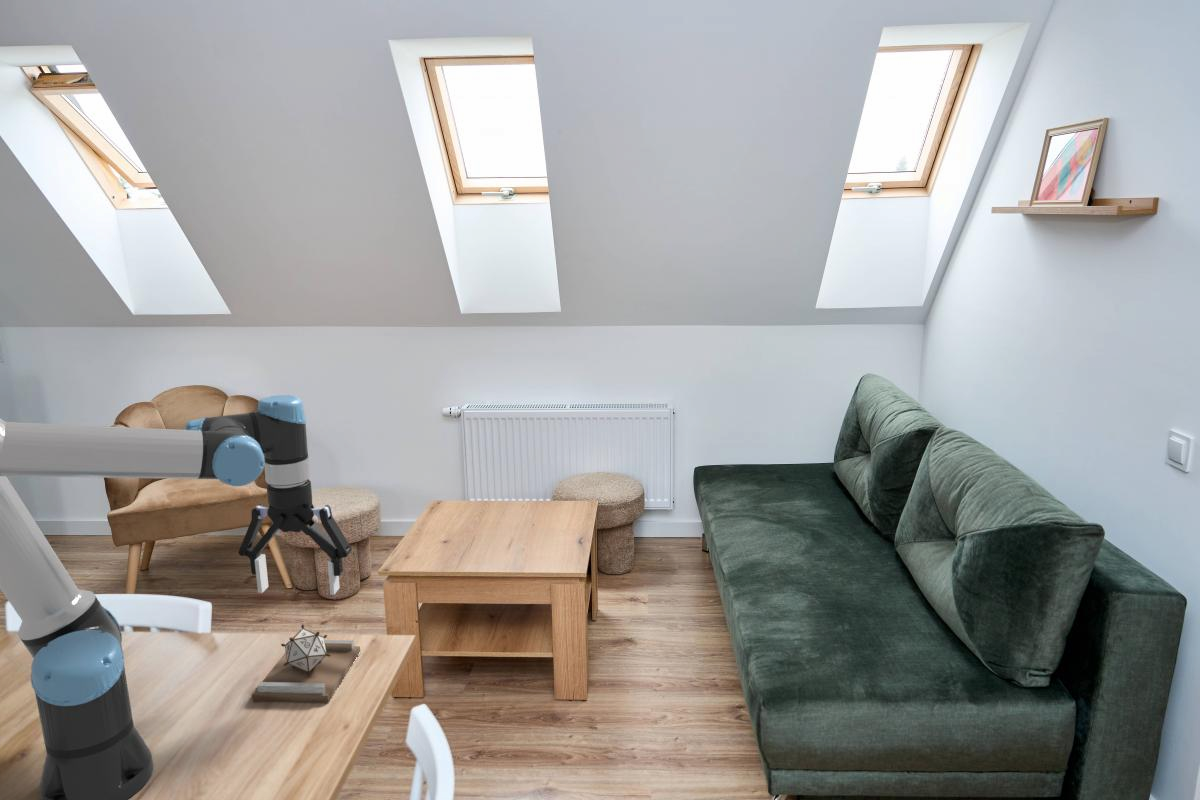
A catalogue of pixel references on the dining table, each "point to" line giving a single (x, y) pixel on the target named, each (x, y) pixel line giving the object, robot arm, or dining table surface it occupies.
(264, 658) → the dining table surface
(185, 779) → the dining table surface
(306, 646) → the game die
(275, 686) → the loading pallet
